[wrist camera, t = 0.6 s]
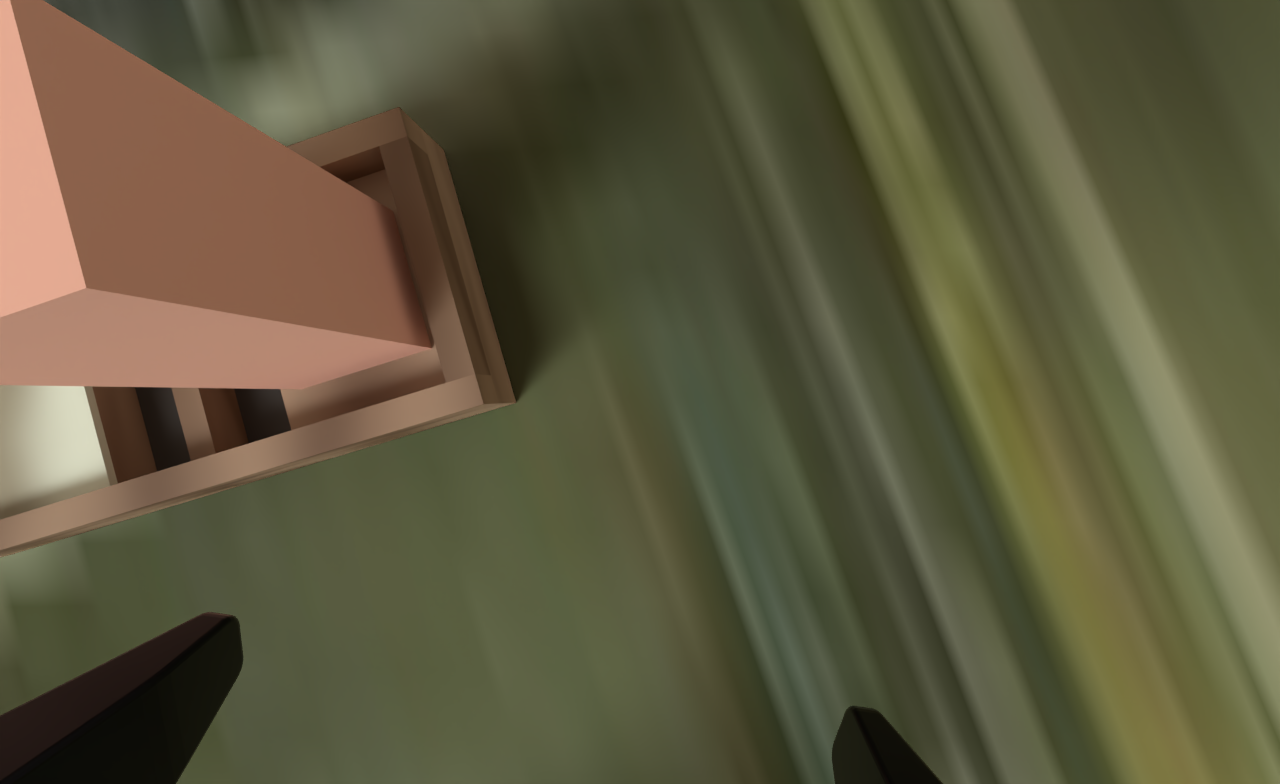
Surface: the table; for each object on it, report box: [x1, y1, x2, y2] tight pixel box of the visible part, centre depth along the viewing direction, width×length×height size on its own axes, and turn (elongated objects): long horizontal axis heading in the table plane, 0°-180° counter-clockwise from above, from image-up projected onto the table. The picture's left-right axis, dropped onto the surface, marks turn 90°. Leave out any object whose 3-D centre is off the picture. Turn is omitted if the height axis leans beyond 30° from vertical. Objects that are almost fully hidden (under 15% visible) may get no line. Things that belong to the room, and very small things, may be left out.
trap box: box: [0, 107, 516, 557], centre depth 22 cm, size 22×10×4 cm, turn 107°
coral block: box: [0, 0, 432, 389], centre depth 15 cm, size 5×5×12 cm
